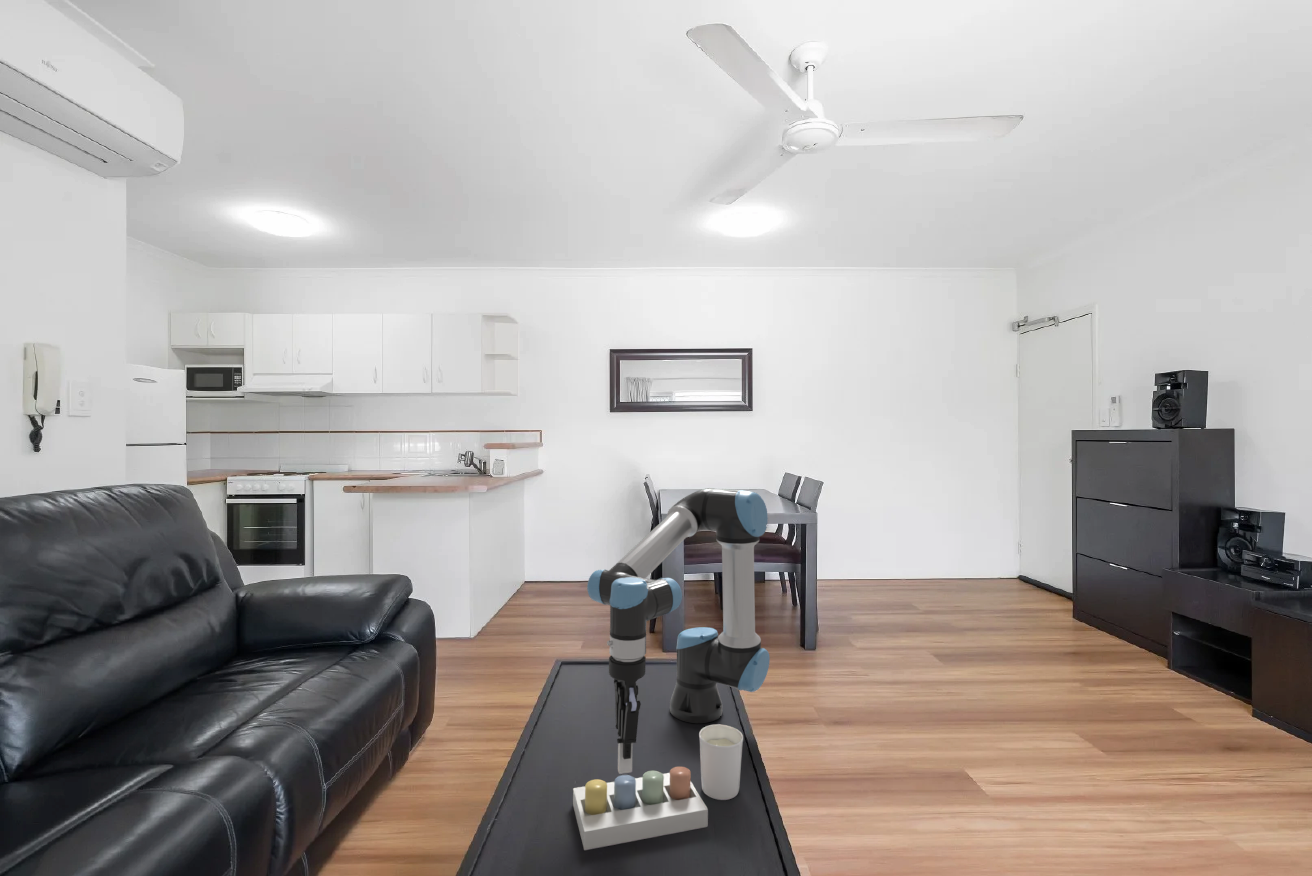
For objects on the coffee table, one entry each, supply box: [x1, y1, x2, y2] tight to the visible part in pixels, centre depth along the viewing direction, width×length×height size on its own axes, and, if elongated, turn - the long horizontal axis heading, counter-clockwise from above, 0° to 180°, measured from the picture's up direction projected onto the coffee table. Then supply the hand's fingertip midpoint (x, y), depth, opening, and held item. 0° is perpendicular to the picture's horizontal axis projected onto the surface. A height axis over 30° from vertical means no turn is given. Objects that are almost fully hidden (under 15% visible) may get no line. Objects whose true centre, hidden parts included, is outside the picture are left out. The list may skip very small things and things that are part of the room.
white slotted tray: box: [572, 772, 709, 851], centre depth 118 cm, size 25×14×4 cm, turn 107°
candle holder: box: [698, 723, 744, 801], centre depth 127 cm, size 10×10×12 cm
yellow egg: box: [585, 778, 608, 815], centre depth 115 cm, size 4×4×4 cm
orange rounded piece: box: [669, 766, 692, 800], centre depth 120 cm, size 4×4×4 cm
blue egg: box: [613, 774, 636, 810], centre depth 117 cm, size 4×4×4 cm
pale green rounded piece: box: [642, 770, 664, 805], centre depth 119 cm, size 4×4×4 cm
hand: (624, 770), depth 117 cm, fingers closed
